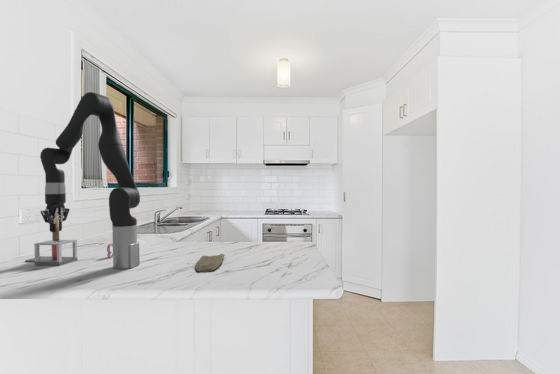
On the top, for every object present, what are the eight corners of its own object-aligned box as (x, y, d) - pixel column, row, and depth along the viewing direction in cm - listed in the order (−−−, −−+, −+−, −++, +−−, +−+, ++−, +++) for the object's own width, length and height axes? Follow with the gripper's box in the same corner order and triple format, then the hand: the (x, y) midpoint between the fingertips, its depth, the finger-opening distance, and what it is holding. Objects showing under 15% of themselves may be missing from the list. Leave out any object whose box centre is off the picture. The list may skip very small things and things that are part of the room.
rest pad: (55, 258, 152) (55, 256, 152) (40, 262, 144) (40, 260, 144) (40, 257, 153) (40, 256, 153) (25, 261, 145) (25, 260, 145)
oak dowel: (60, 240, 144) (60, 213, 144) (56, 241, 142) (55, 214, 141) (55, 240, 144) (55, 213, 144) (51, 241, 142) (50, 214, 142)
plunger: (62, 258, 144) (62, 243, 144) (56, 259, 141) (56, 245, 141) (56, 258, 145) (56, 243, 145) (50, 259, 142) (50, 244, 142)
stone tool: (201, 258, 148) (191, 274, 123) (201, 252, 148) (191, 266, 123) (225, 258, 149) (220, 273, 124) (225, 252, 149) (220, 265, 124)
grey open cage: (77, 260, 147) (76, 239, 147) (59, 265, 137) (59, 243, 137) (54, 259, 149) (53, 239, 149) (34, 265, 139) (34, 243, 139)
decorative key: (131, 255, 169) (108, 258, 149) (129, 255, 169) (106, 258, 149) (132, 242, 170) (109, 243, 150) (130, 242, 170) (107, 243, 150)
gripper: (49, 193, 135) (50, 234, 136) (75, 192, 149) (75, 229, 149) (34, 193, 136) (34, 233, 137) (60, 192, 150) (61, 229, 150)
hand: (56, 231), depth 143 cm, fingers closed on oak dowel, 2 cm apart
